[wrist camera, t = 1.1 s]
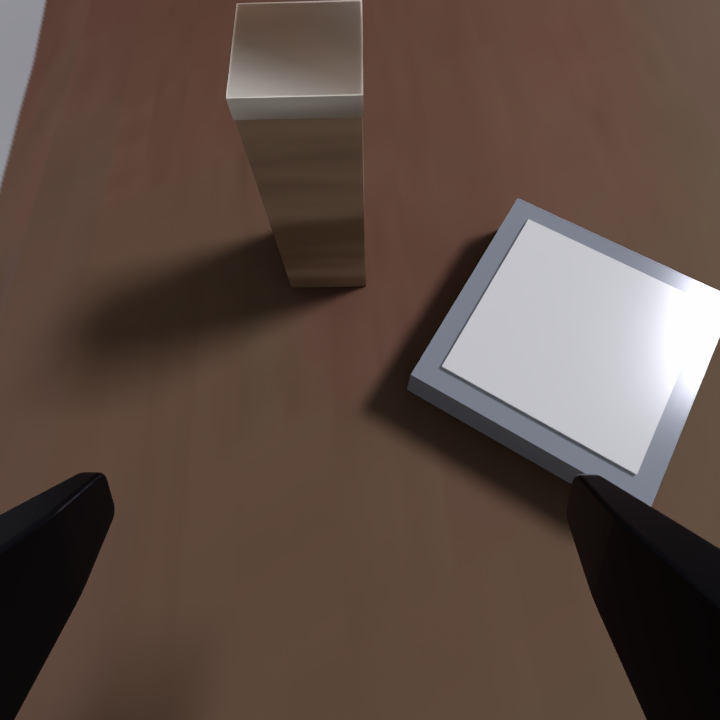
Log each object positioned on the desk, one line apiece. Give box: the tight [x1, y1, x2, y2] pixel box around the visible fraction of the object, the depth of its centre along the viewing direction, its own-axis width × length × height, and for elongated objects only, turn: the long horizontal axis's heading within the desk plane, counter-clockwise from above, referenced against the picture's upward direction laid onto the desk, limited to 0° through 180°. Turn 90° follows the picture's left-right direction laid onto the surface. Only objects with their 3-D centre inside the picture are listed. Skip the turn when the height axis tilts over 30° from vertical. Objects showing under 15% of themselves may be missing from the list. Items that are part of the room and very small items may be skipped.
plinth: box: [407, 198, 720, 506], centre depth 23 cm, size 11×11×3 cm
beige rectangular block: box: [226, 0, 366, 288], centre depth 20 cm, size 4×4×12 cm
